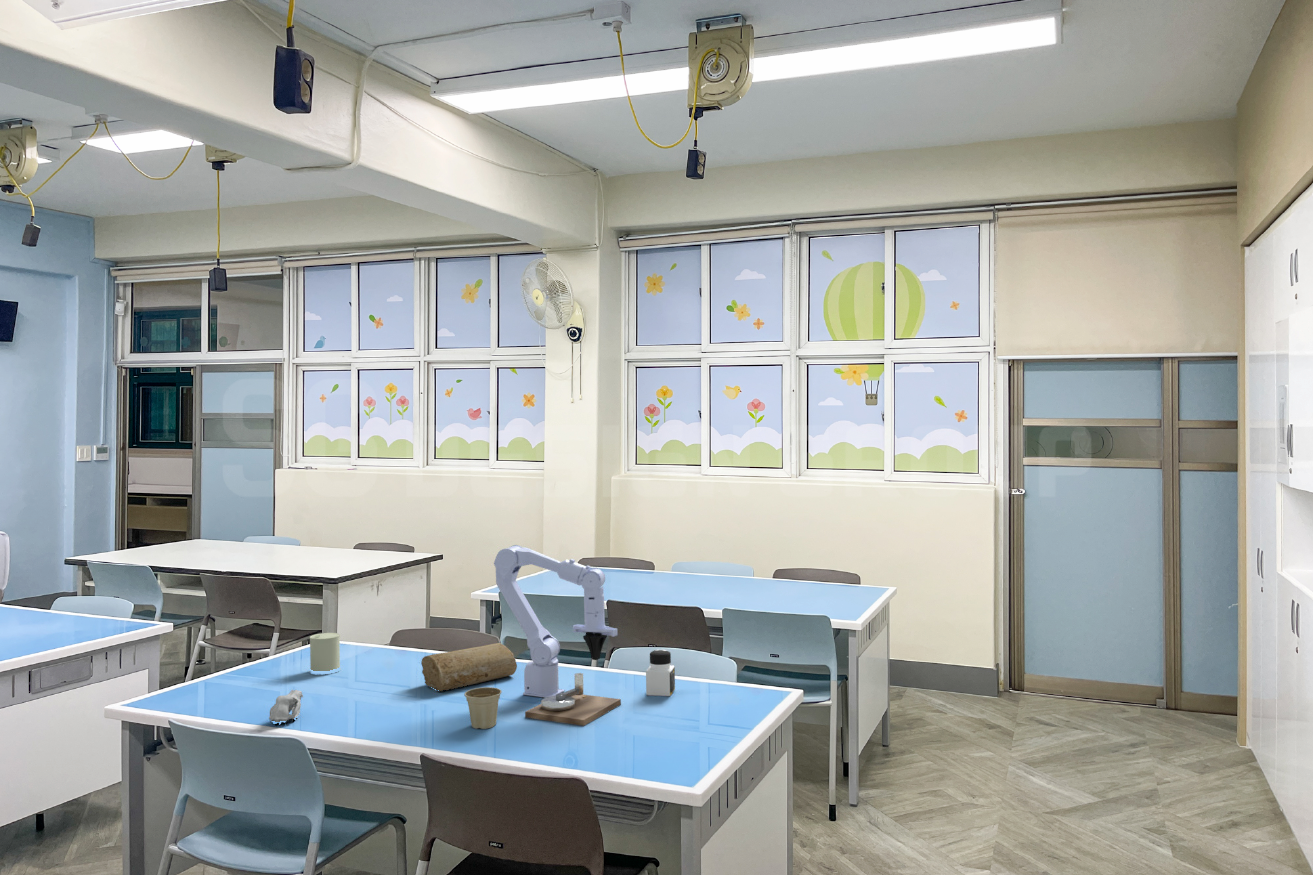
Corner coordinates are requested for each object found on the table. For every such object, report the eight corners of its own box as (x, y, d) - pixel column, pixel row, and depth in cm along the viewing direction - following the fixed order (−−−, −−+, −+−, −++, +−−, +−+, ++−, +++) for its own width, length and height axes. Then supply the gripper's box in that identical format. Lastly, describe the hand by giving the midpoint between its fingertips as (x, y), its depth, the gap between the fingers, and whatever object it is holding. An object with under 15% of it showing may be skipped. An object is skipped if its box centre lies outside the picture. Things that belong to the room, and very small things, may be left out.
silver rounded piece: (560, 712, 238) (559, 687, 238) (534, 707, 243) (533, 683, 243) (594, 698, 251) (594, 675, 251) (569, 694, 256) (569, 671, 256)
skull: (257, 718, 235) (274, 677, 244) (273, 735, 241) (289, 695, 250) (284, 717, 234) (301, 676, 243) (300, 735, 240) (315, 694, 248)
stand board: (525, 717, 241) (525, 710, 241) (565, 697, 259) (564, 691, 259) (583, 725, 233) (583, 719, 233) (620, 704, 251) (620, 698, 251)
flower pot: (484, 733, 228) (484, 699, 228) (457, 727, 233) (456, 694, 233) (509, 723, 236) (509, 690, 236) (482, 717, 241) (482, 685, 241)
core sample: (517, 677, 282) (517, 645, 282) (441, 695, 264) (440, 660, 264) (492, 670, 292) (492, 638, 292) (417, 686, 274) (417, 653, 274)
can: (303, 672, 291) (303, 635, 291) (328, 666, 299) (328, 630, 299) (321, 676, 286) (320, 638, 286) (346, 670, 294) (345, 633, 294)
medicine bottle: (670, 696, 258) (670, 654, 258) (646, 695, 260) (645, 653, 259) (675, 689, 265) (674, 648, 265) (651, 688, 266) (650, 647, 266)
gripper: (623, 611, 260) (624, 658, 260) (582, 607, 268) (584, 653, 268) (608, 615, 254) (610, 664, 254) (567, 611, 262) (569, 658, 262)
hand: (595, 659), depth 260 cm, fingers closed
